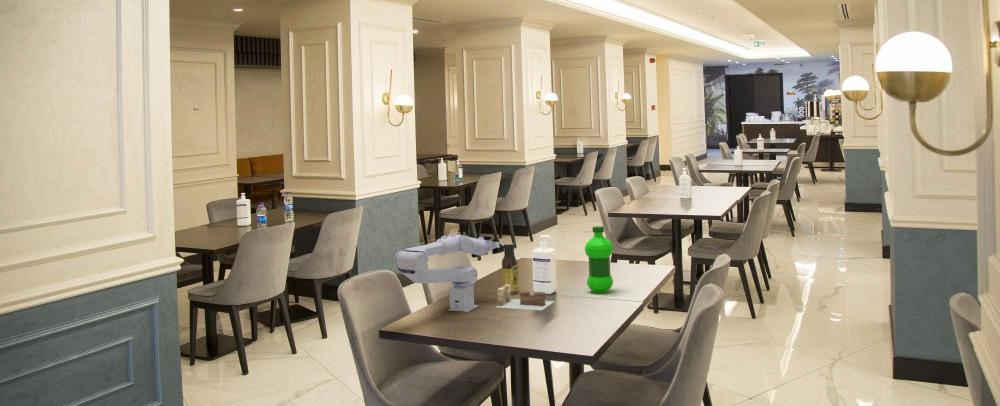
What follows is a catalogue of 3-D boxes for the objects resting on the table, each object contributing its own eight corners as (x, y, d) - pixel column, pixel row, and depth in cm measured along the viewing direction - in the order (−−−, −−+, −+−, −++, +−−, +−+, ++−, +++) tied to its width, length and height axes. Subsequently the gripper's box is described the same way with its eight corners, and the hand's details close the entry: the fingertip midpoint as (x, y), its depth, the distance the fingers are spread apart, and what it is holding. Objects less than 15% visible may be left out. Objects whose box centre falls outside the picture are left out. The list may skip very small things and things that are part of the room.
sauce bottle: (517, 296, 287) (515, 245, 285) (501, 296, 288) (499, 245, 286) (520, 292, 293) (518, 242, 291) (504, 292, 294) (502, 242, 292)
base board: (542, 311, 263) (541, 310, 262) (495, 308, 270) (494, 307, 270) (554, 302, 274) (554, 301, 274) (509, 300, 282) (509, 298, 282)
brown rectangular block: (543, 306, 268) (543, 293, 268) (520, 304, 272) (519, 292, 271) (545, 304, 270) (544, 292, 269) (522, 303, 274) (521, 291, 273)
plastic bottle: (595, 287, 296) (593, 224, 293) (619, 290, 289) (617, 226, 286) (581, 293, 288) (579, 228, 285) (605, 296, 281) (603, 229, 278)
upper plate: (502, 305, 271) (501, 289, 271) (498, 305, 272) (497, 289, 271) (511, 300, 279) (510, 284, 278) (506, 300, 279) (506, 284, 279)
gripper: (488, 232, 273) (510, 237, 283) (457, 238, 280) (479, 243, 291) (489, 251, 271) (511, 255, 282) (458, 257, 279) (480, 261, 290)
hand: (495, 250), depth 286 cm, fingers open, 7 cm apart
